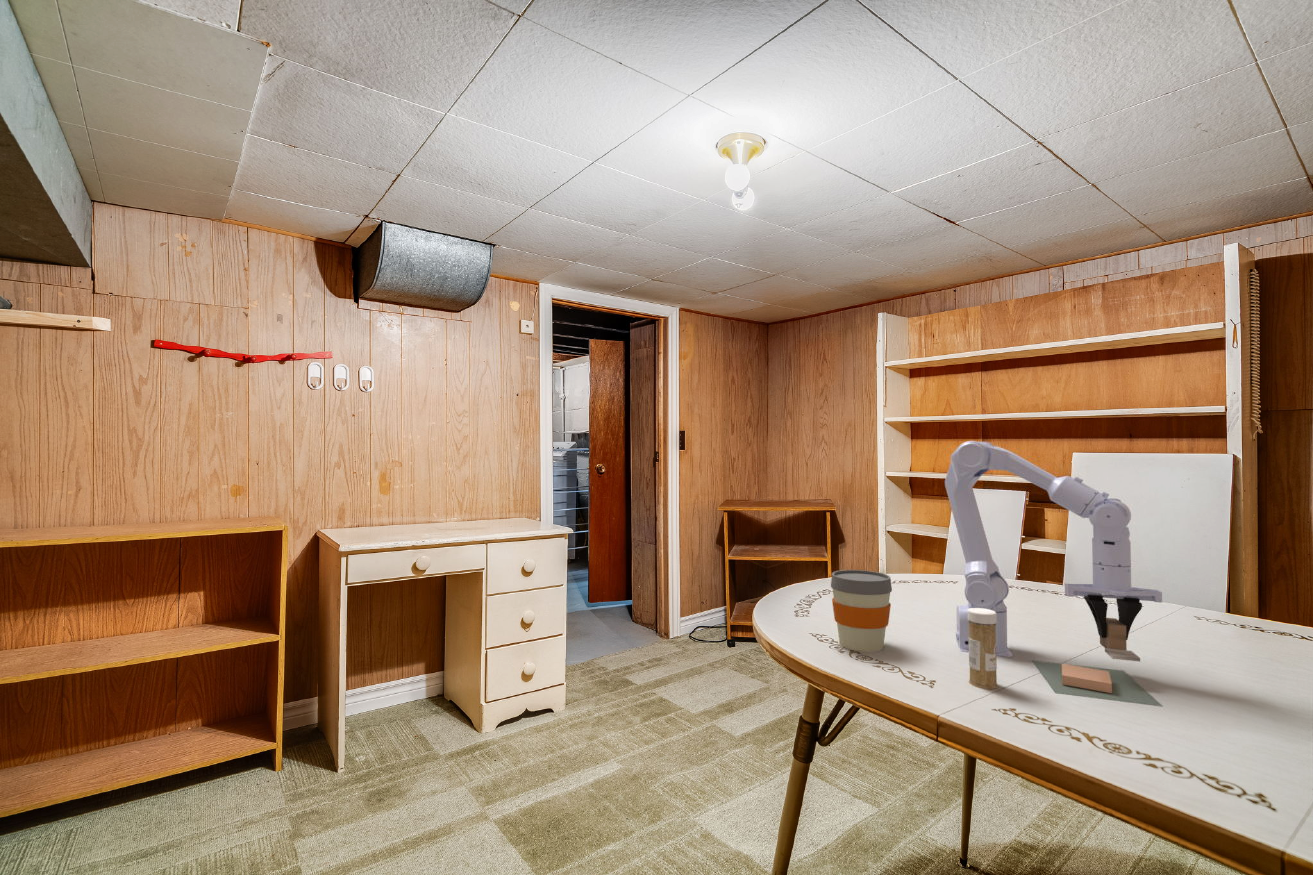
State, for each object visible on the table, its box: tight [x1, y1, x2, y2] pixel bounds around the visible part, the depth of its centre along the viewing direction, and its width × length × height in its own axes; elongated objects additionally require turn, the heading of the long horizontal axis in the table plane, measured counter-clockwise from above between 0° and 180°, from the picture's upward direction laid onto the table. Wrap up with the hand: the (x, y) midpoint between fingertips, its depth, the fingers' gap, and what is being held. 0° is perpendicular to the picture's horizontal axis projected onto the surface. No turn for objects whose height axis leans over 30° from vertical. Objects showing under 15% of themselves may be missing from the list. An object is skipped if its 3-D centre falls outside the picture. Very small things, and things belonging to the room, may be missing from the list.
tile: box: [1061, 663, 1112, 693], centre depth 106 cm, size 7×2×7 cm
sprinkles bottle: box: [968, 608, 998, 690], centre depth 106 cm, size 5×5×14 cm
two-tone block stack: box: [1099, 617, 1141, 662], centre depth 109 cm, size 9×4×5 cm, turn 159°
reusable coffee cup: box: [830, 569, 893, 653], centre depth 128 cm, size 13×13×15 cm
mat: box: [1031, 660, 1164, 708], centre depth 107 cm, size 15×17×1 cm
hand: (1112, 637), depth 110 cm, fingers closed on two-tone block stack, 3 cm apart
